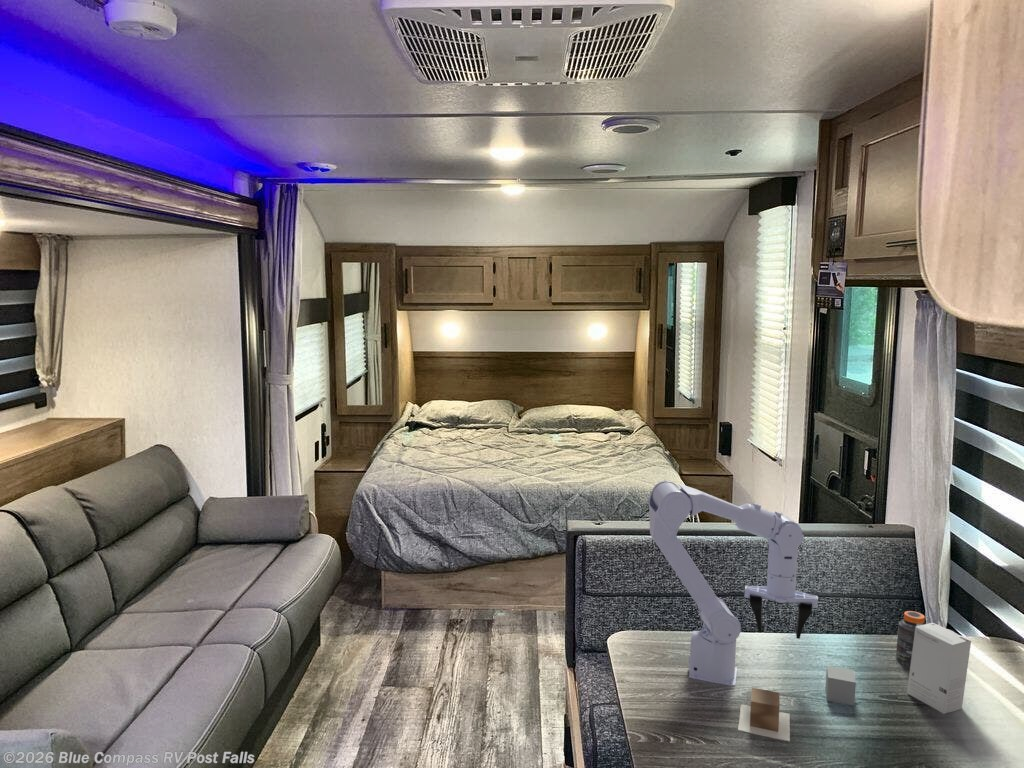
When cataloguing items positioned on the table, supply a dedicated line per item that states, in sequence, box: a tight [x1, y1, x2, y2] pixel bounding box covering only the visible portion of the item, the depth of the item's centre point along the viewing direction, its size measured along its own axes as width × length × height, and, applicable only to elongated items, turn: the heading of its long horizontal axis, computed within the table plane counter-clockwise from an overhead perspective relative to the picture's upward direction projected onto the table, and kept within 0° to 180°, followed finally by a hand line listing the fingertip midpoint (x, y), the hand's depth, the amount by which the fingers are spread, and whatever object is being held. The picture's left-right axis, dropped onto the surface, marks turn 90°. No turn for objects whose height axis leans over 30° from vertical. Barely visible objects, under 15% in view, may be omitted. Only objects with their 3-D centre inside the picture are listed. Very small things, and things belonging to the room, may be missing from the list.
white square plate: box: [737, 704, 791, 743], centre depth 132 cm, size 9×9×1 cm
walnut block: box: [750, 687, 781, 732], centre depth 131 cm, size 5×5×5 cm
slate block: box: [824, 665, 857, 707], centre depth 140 cm, size 5×5×5 cm
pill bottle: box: [895, 610, 926, 668], centre depth 154 cm, size 6×6×11 cm
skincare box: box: [906, 622, 972, 715], centre depth 138 cm, size 8×6×15 cm
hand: (778, 633), depth 148 cm, fingers open, 7 cm apart
